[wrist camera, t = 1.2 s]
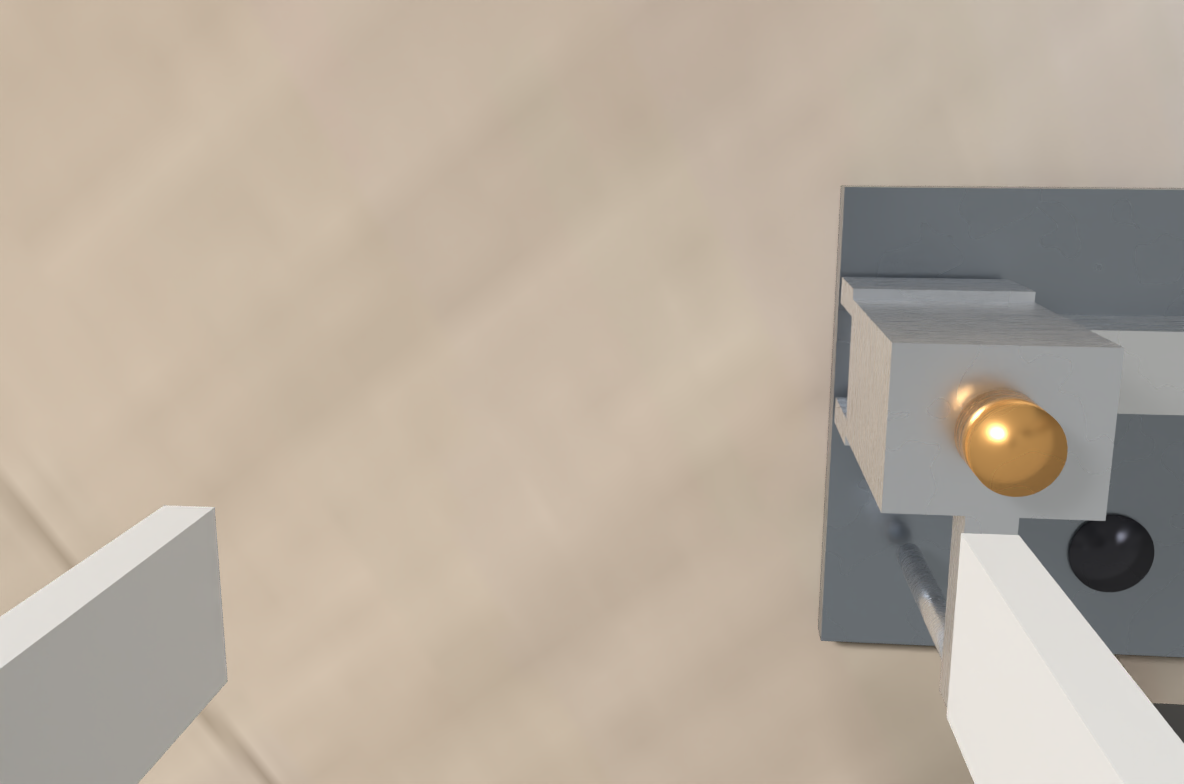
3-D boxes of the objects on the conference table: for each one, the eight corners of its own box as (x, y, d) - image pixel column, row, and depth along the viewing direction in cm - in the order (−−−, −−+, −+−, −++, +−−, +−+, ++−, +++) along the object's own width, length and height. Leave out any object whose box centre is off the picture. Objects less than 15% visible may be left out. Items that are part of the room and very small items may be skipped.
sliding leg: (1009, 279, 34) (1154, 347, 23) (984, 568, 36) (1106, 757, 25) (842, 276, 35) (905, 342, 24) (826, 561, 37) (878, 744, 26)
